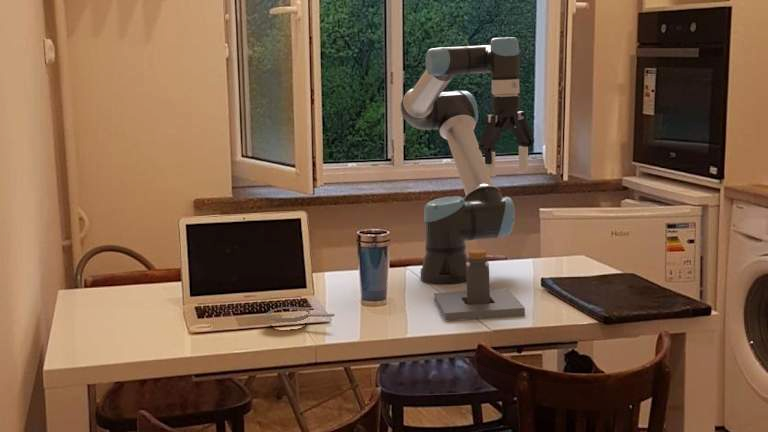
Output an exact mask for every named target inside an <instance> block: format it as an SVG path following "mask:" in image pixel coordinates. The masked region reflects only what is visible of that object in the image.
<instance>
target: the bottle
mask: <svg viewBox="0 0 768 432" xmlns="http://www.w3.org/2000/svg"><path fill="white" fill-rule="evenodd" d="M467 254H468V256H467V257H468V262H469V263H470V266H468V267H467V268H466V276H467V281H466V291H467V305H474V304H490V290H491V288H490V285H491V284H490V266H489V267H488V266H486V265H485V263H486V262H487V261H488V257H487V250H486V249H479V248H476V249H469V250H468V251H467Z"/></svg>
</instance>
